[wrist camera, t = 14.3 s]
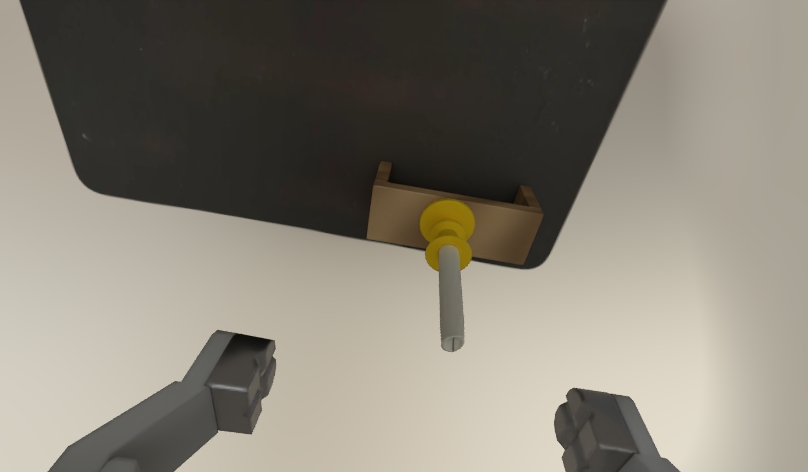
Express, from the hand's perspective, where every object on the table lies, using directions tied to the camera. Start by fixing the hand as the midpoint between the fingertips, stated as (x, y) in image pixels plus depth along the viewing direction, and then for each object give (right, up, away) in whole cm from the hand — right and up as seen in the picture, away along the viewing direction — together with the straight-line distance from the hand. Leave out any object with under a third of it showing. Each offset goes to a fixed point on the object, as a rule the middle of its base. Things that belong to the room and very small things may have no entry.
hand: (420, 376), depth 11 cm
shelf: (+5, +8, +32) cm, 33 cm away
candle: (+4, +5, +26) cm, 27 cm away
